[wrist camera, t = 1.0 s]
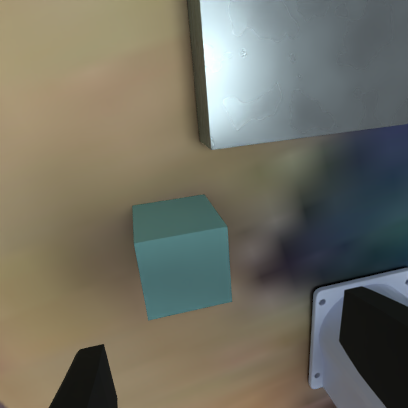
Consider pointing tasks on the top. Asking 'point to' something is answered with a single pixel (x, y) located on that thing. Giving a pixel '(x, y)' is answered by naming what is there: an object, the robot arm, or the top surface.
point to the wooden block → (181, 255)
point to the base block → (297, 68)
